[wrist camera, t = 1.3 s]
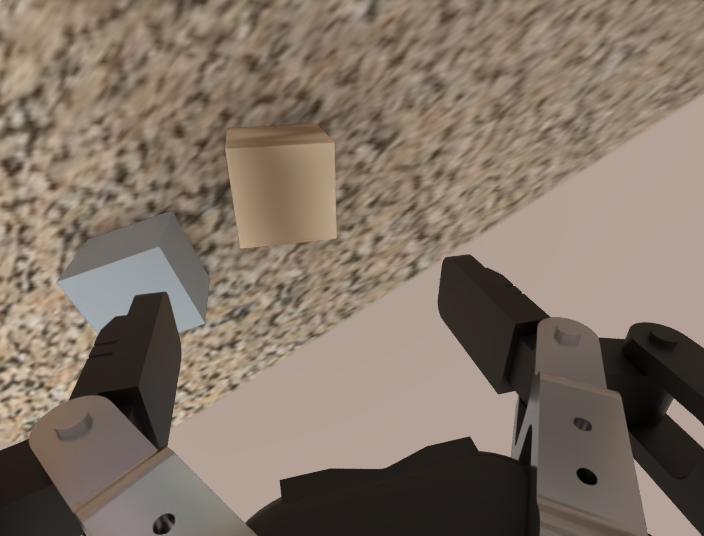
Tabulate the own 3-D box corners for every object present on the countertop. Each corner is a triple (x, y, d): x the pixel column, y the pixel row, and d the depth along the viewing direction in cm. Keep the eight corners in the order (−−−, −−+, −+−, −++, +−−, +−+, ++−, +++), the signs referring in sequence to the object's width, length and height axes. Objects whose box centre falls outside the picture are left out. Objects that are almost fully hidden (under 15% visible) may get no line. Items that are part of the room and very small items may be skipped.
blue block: (172, 209, 24) (159, 246, 20) (209, 278, 27) (205, 323, 22) (88, 238, 24) (56, 281, 19) (134, 304, 26) (115, 356, 22)
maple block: (316, 123, 24) (334, 142, 19) (320, 205, 26) (336, 238, 22) (227, 127, 23) (225, 148, 18) (239, 212, 25) (240, 248, 21)
